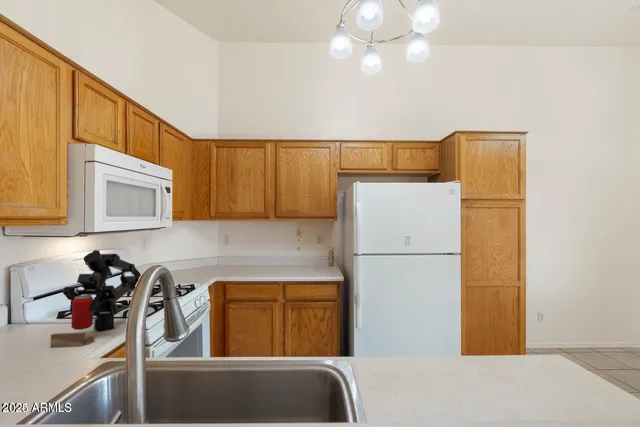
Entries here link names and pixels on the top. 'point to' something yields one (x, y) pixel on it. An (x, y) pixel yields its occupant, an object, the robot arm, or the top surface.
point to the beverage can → (82, 312)
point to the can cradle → (70, 339)
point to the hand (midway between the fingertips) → (80, 311)
